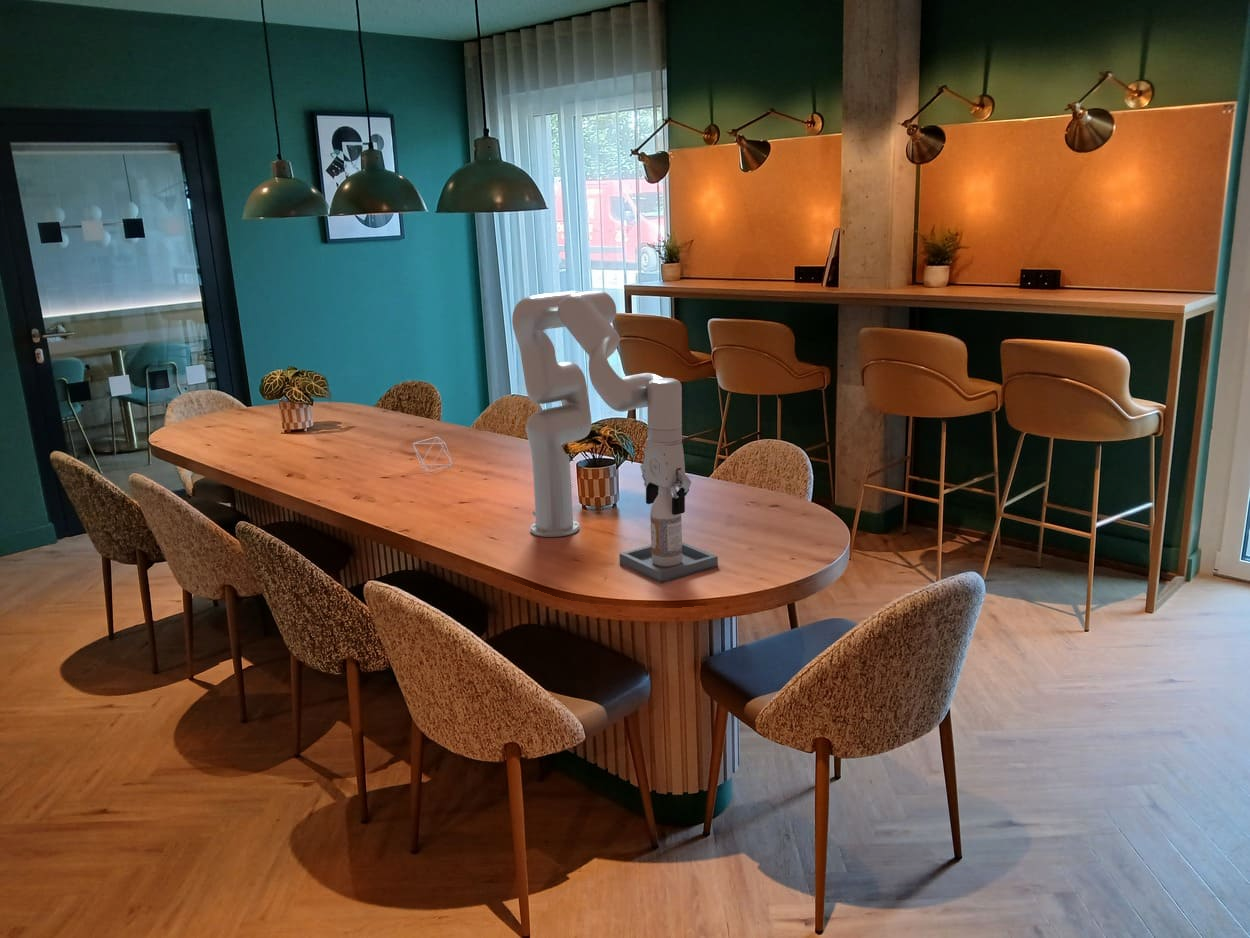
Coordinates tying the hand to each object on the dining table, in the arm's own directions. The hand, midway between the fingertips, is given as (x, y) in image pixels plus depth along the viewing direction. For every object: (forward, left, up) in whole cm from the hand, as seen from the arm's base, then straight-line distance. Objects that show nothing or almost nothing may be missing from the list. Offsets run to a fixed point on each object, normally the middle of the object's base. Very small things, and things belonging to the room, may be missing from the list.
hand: (665, 508), depth 215 cm
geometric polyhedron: (-121, -4, -14) cm, 122 cm away
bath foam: (0, 0, -13) cm, 13 cm away
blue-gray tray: (+1, 0, -14) cm, 14 cm away
